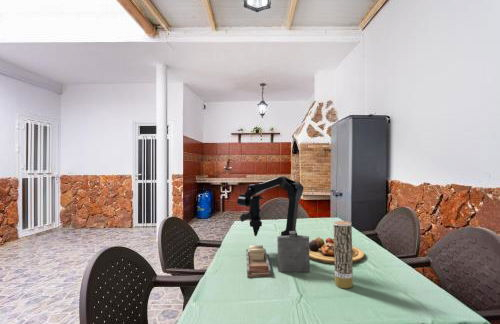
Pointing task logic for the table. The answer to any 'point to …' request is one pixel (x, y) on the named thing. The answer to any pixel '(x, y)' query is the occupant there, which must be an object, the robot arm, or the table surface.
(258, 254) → the cream square block
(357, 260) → the wooden plate with food
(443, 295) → the table surface
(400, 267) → the table surface
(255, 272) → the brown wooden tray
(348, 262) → the tree log
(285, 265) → the flask
